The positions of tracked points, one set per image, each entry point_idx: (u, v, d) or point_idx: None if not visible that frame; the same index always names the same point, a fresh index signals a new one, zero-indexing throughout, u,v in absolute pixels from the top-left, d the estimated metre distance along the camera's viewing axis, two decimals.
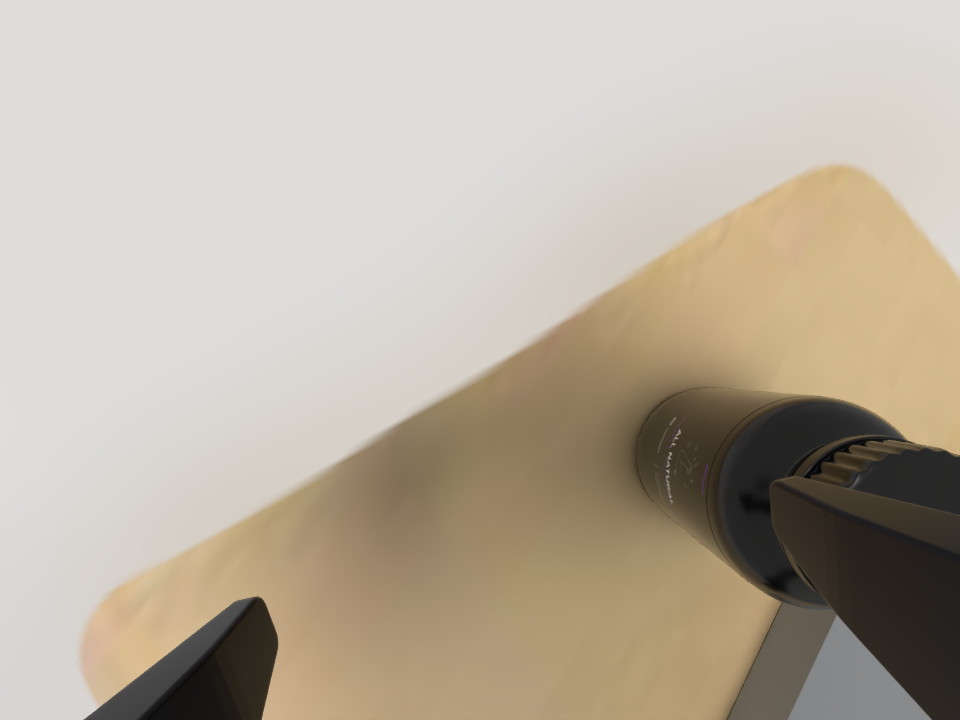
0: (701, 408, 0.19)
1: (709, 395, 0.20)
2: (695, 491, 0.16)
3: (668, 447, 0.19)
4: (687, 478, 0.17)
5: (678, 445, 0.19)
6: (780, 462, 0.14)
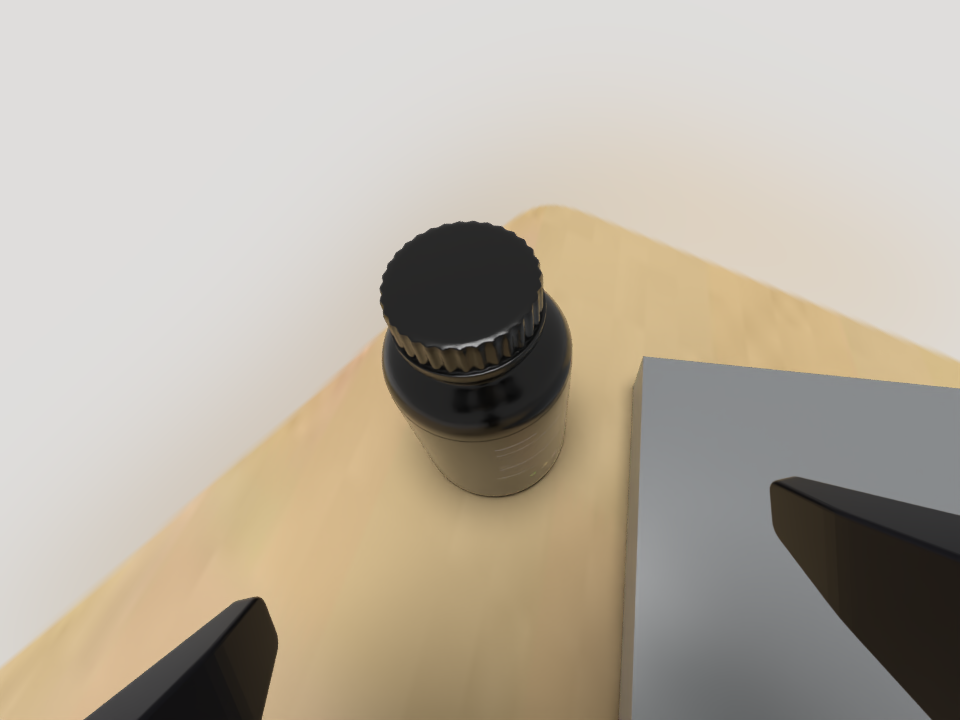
0: None
1: None
2: None
3: None
4: None
5: None
6: None
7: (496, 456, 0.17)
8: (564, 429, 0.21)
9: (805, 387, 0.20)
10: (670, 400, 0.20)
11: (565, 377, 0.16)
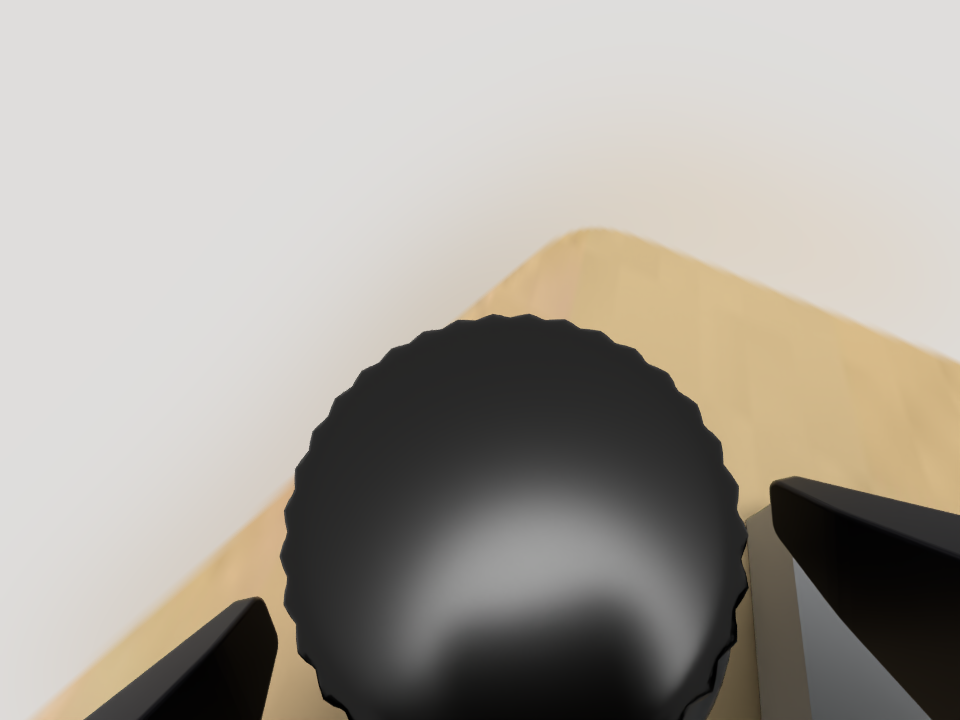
0: None
1: None
2: None
3: None
4: None
5: None
6: None
7: None
8: None
9: None
10: None
11: None
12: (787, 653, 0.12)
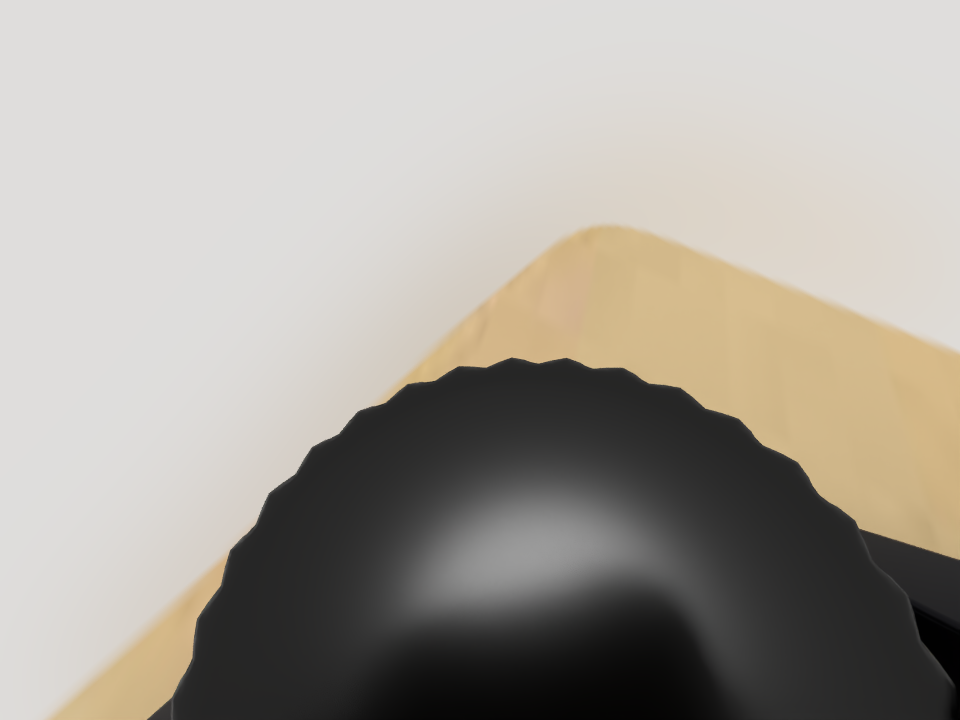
0: None
1: None
2: None
3: None
4: None
5: None
6: None
7: None
8: None
9: None
10: None
11: None
12: None
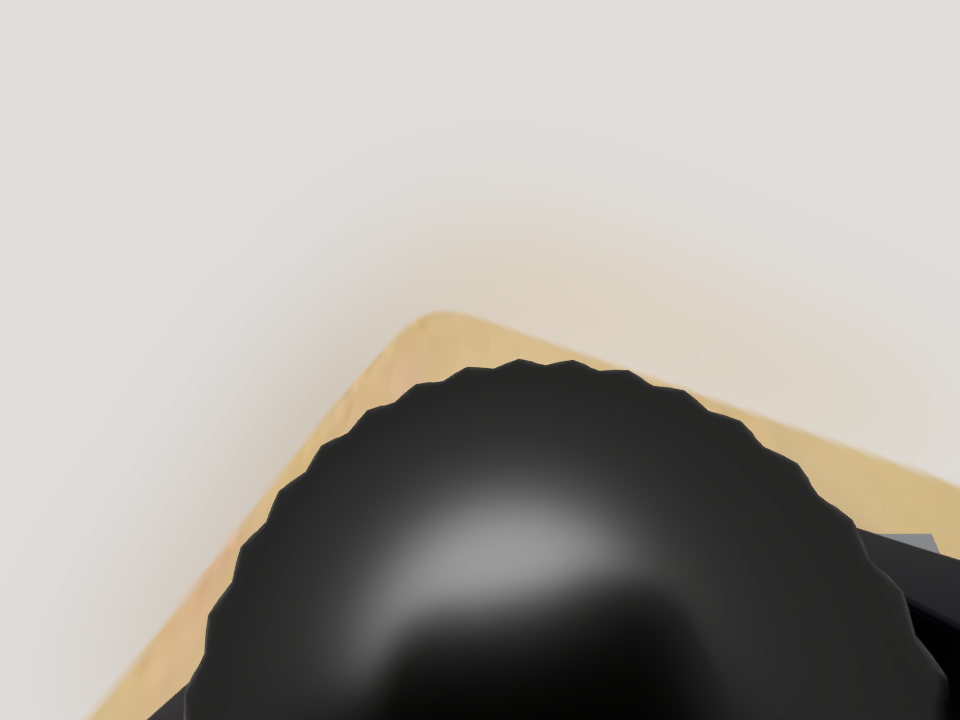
0: None
1: None
2: None
3: None
4: None
5: None
6: None
7: None
8: None
9: None
10: None
11: None
12: None
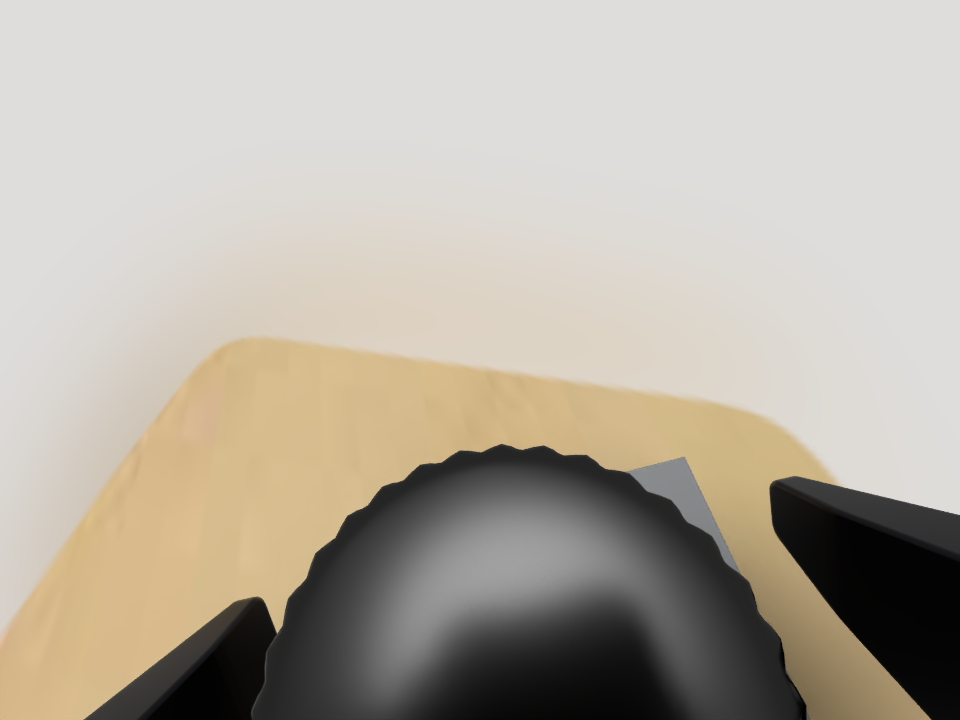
0: None
1: None
2: None
3: None
4: None
5: None
6: None
7: None
8: None
9: None
10: None
11: None
12: None
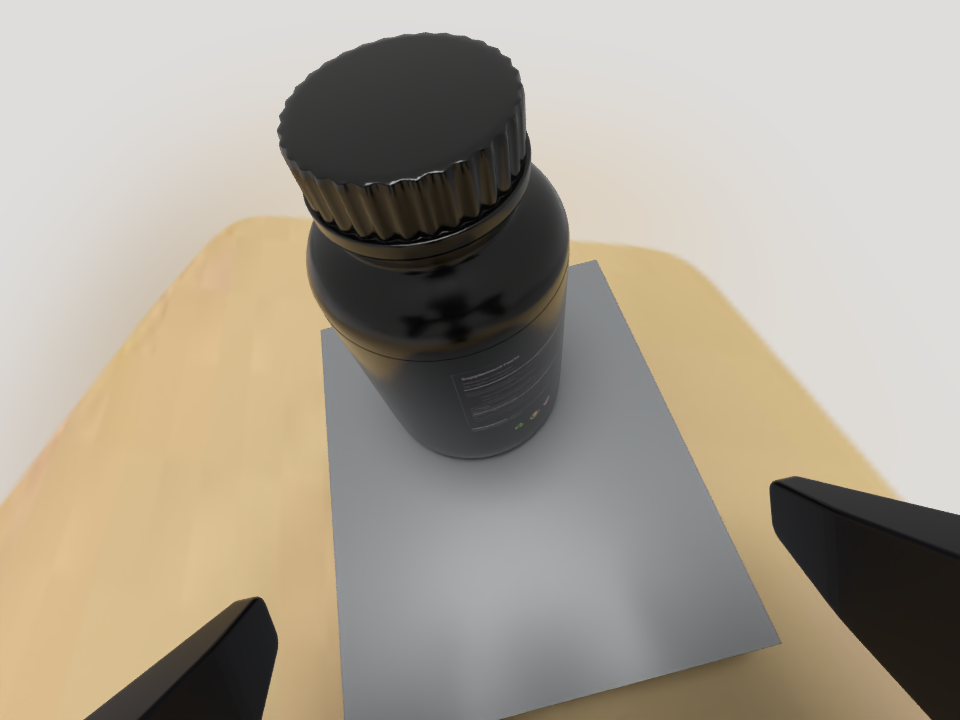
0: None
1: None
2: None
3: None
4: None
5: None
6: None
7: (464, 390, 0.12)
8: (559, 371, 0.16)
9: None
10: (349, 361, 0.21)
11: (559, 271, 0.11)
12: None
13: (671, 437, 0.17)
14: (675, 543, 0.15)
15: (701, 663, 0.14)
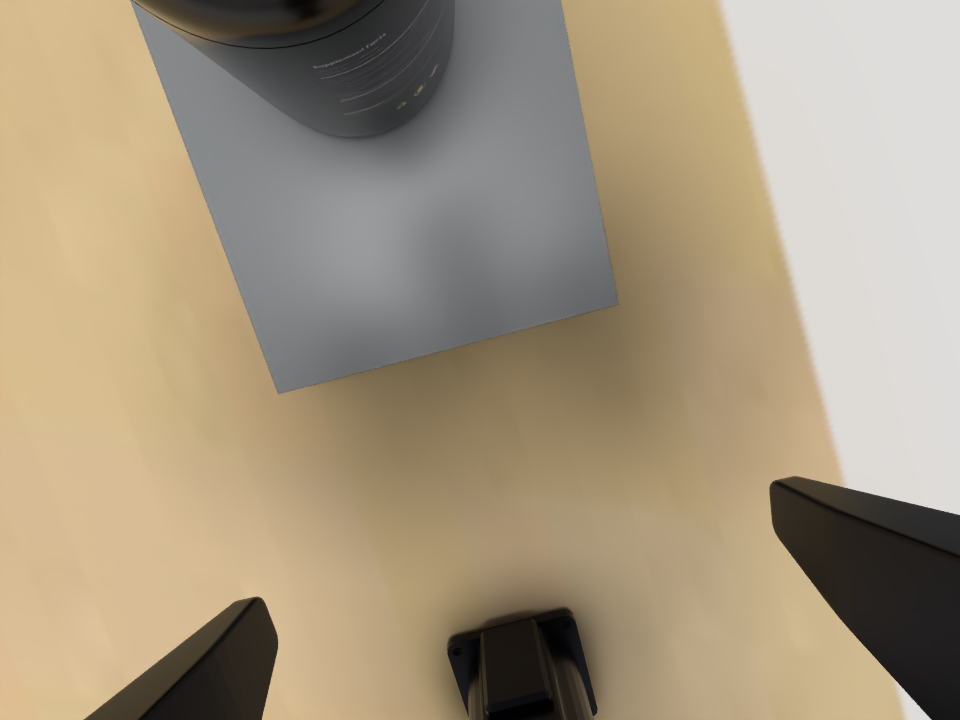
0: None
1: None
2: None
3: None
4: None
5: None
6: None
7: (321, 78, 0.10)
8: (451, 27, 0.13)
9: None
10: None
11: None
12: None
13: (571, 115, 0.16)
14: (553, 227, 0.17)
15: (554, 320, 0.17)
